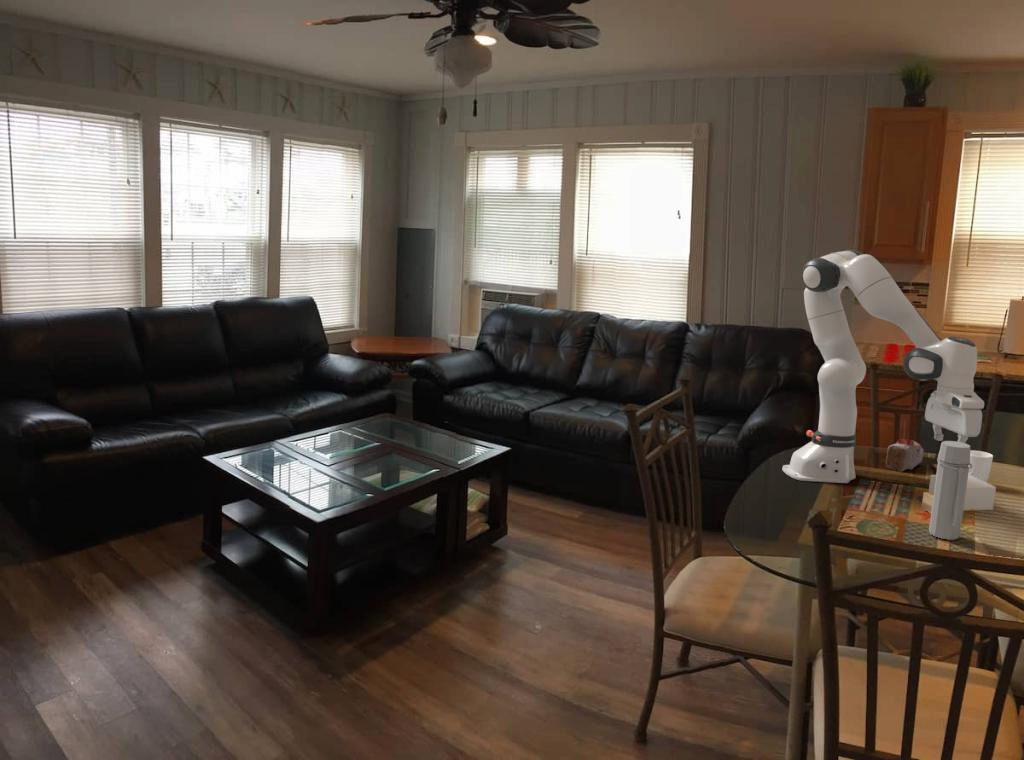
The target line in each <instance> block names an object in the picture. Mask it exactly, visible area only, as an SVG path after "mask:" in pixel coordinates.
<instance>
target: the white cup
mask: <svg viewBox="0 0 1024 760" xmlns="http://www.w3.org/2000/svg"><path fill="white" fill-rule="evenodd" d="M993 458H994V455H993V454H991V453H989V452H986V451H982V450H971V449H970V463H971V465H972V468H971V469H969V473H968V475H971V476H973V477H975V478H977V479H979V480H981V481H984V482H986V483H988V480H989V478H990V474H991V473H990V472H991V469H992V463H993ZM968 467H970V465H969V466H968Z"/></svg>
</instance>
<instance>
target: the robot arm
mask: <svg viewBox="0 0 1024 760" xmlns="http://www.w3.org/2000/svg"><path fill="white" fill-rule="evenodd" d="M801 280H802V281H801V282H802V283H803V285H804V287H805V288H804V291H803V299H804V300H803V301H804V308H805V309H804V310H805V313H806V317H807V321H808V324H809V328H810V332H811V334H812V340H813V342H814V344H815V346H816V347H817V349H818V350H819V352H820V354H821V356H822V359H823V360H824V363H823V364H822V365H821V367H820V368H819V371H818V373H817V382H818V392H819V393H818V394H819V417H818V418H819V419H818V428H817V430H816V431H815V432H814V431H813V430H811V429H809V430H807V431H806V433H805V434H806V436H807V437H809V438H811V441H809V442H808V443H806V444H805V445H803V446H801V447H800V448H799V449H797V450H796V451H793V453H792V455H791V459H790V462H789V464H783V465H782V472H783V473H785V474H786V475H787V476H788V477H791V478H792V479H794V480H796V481H797V480H798V481H803V482H819V483H834V484H835V483H838V484H848V483H850V481H852V480H855V479H856V470H855V463H854V462H855V461H854V454H855V453H854V450H855V448H856V438H857V434H856V428H857V427H856V426H857V417H858V407H857V400H856V399H857V398H856V393H857V392H856V390H857V389H856V388H857V386H858V385H859V384H861V383H862V382H863V380H864V379H865V376H866V374H867V365H866V363H865V361H864V360H863V357H862V355H861V353H860V351H859V349H858V346H857V344H856V342H855V340H854V338H853V335H852V333H851V329H850V327H849V323H848V319H847V316H846V312H845V309H844V306H843V302H842V298H841V293H842V291H843V290H844V289H845V290H849V289H850V290H851V291H852V293H853V294H854V296H855V298H856V299H857V301H858V302H859V304H860V306H861V307H862V308H863V309H864V310H865V311H866V312H867V313H868V315H870V316H872V317H874V318H877V319H880V320H884V321H887V322H890V323H892V324H895V325H896V326H897V327H899V328H900V329H901V330H902V331H904V333H905V334H906V335H907V336H908V338H909V339H910V341H911V342H912V343H913V344H914V346H915V347H914V348H912V349H910V350H909V351H907V352H906V354H905V355H904V357H903V360H902V362H903V363H902V366H903V370H904V372H905V373H906V374H907V376H908V377H910V378H911V379H913V380H918V381H928V380H935V381H937V386H936V389H935V390H934V391H932V393H930V397H929V398H928V400H927V403H926V406H925V412H924V419H925V421H927V422H929V423H931V424H932V428H933V429H932V430H933V433H934V436H933V438H934V440H936V441H939V442H940V441H942V442H943V441H944V434H943V431H942V429H946V430H948V431H951V432H953V433H956V434H957V438H958V439H957V441H956V442H961V443H965V444H966V443H967V440H969V438H976V437H978V436H979V435H980V434H981V429H982V424H983V423H982V421H983V412H982V409H984V407H985V401H984V400H983V399H982V398H981V397H980V396H979V395H978V394H977V393H976V392H975V391H974V389H975V384H974V377H975V374H976V373H977V366H978V349H977V345H976V344H975V342H973V341H972V340H970V339H967V338H964V337H961V336H960V337H959V336H958V337H957V336H947V337H945V338H944V339H942V338H940V336H939V335H938V334H937V333H936V332H935V330H934V329H933V328H932V327H931V326H930V324H929V323H928V322H927V320H926V319H925V318H924V317H923V316H922V314H921V313H920V312H919V311H918V309H917V308H916V307H915V306H914V305H913V304H912V303H911V301H910V300H909V299H908V298H907V297H906V296H905V294H904V293H903V291H902V290H901V288H900V287H899V286H898V284H897V282H896V281H895V280H894V278H893V277H892V275H891V274H890V273H889V272H888V271H887V269H886V268H885V267H884V266H883V265H882V264H881V263H880V262H879V260H878V259H876V258H875V256H873V255H871V254H867V253H865V254H864V253H862V252H861V251H858V250H852V249H847V250H844V251H837V252H831V253H828V254H825V255H822V256H821V257H816V258H813V259H811V260H809V261H807V262H806V264H804V265H803V267H802V270H801Z"/></svg>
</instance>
